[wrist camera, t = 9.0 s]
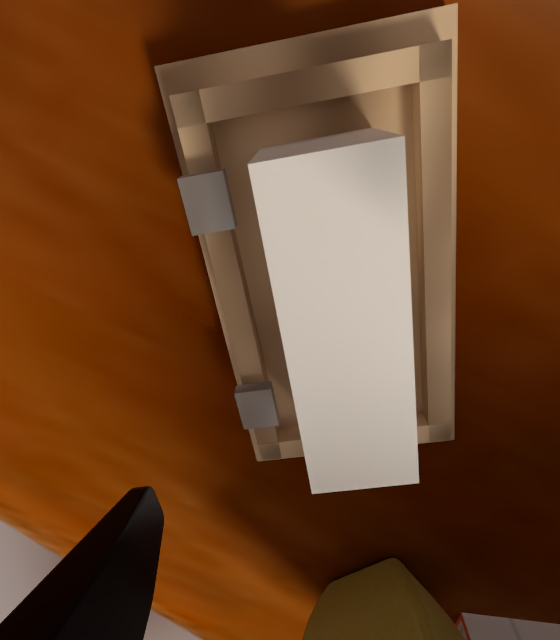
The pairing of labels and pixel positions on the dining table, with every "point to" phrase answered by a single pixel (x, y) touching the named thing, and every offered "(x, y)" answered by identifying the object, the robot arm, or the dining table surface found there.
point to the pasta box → (504, 628)
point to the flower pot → (379, 608)
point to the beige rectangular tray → (306, 123)
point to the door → (343, 301)
